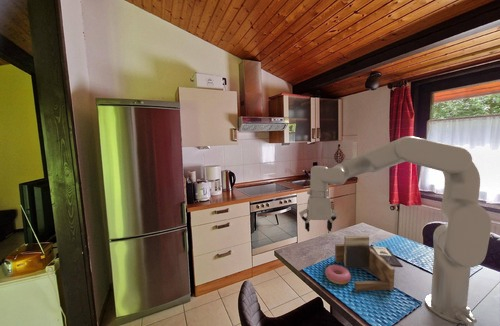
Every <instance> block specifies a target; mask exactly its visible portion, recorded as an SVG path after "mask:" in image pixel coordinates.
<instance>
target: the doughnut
mask: <svg viewBox="0 0 500 326" xmlns="http://www.w3.org/2000/svg"><path fill="white" fill-rule="evenodd" d="M324 274H325V276H326V278H327V280H329V281H330V282H332V283H333V284H336V285H347V284H348V283H350V281H351V280H352V279H351V278H352V275H351V272H350V271H349V269H348V268H346V267H345V266H342V265H338V264H332V265H331V264H330V265H328V266H327V267H326V268H325V271H324Z"/></svg>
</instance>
